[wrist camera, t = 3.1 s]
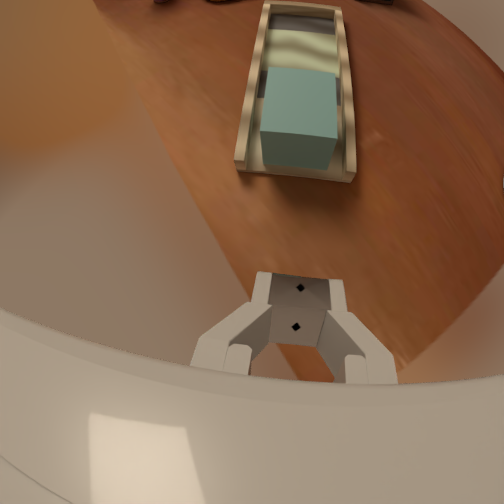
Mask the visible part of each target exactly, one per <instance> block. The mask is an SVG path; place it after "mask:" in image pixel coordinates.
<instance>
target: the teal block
mask: <svg viewBox="0 0 504 504" xmlns="http://www.w3.org/2000/svg"><path fill="white" fill-rule="evenodd" d="M260 139H261V149H262V160H263V164H270V165H282V166H292V167H302V168H311V169H320V170H327V169H328V166H329V163H330V160H331V157H332V154H333V151H334V148H335V145H336V142H337V139H338V136H337V100H336V80H335V73H330V72H322V71H314V70H305V69H294V68H281V67H269V68H268V75H267V82H266V89H265V96H264V103H263V111H262V118H261V125H260Z"/></svg>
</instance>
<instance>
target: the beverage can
mask: <svg viewBox="0 0 504 504" xmlns="http://www.w3.org/2000/svg"><path fill="white" fill-rule="evenodd" d="M154 1H155V2H157V3H163V2H166V1H169V0H154Z"/></svg>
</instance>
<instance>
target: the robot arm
mask: <svg viewBox="0 0 504 504" xmlns="http://www.w3.org/2000/svg"><path fill="white" fill-rule="evenodd" d="M503 186H504V181H503ZM268 342H272V343H284V344H296V345H304V346H313V347H316V348H317V350H318V352H319V353H320V355H321V356H322V358H323V360H324V361H325V363H326V364H327V366H328V367H329V369H330V371H331V372H332V374H333V375H334V377H335V380H334V382H333V383H326V382H310V381H297V380H286V379H275V378H267V377H258V376H251V375H250V374H251V362H252V360H253V359H254V358H255V357H256V356H257V355H258V354H259V353H260V352H261V351H262V350H263V349H264V348H265V346H266V345H267V344H268ZM0 504H504V374H502V375H495V376H489V377H481V378H474V379H464V380H455V381H442V382H428V383H409V384H408V383H405V384H398V380H397V375H396V369H395V364H394V359H393V355H392V354H391V353H390V352H389V351H388V350H387V349H386V348H385V347H384V345H383V344H382V343H381V342H380V341H379V340H378V339H377V338H376V337H375V336H374V335H373V334H372V333H371V332H370V331H369V330H368V329H367V328H366V327H365V326H364V325H363V324H362V323H361V321H360V320H359V319H358V318H357V317H356V316H355V315H354V314H353V313H352V312H348V311H347V304H346V297H345V290H344V284H343V281H342V280H337V279H320V278H309V277H301V276H293V275H285V274H277V273H273V274H272V273H268V272H260V271H258V273H257V276H256V280H255V285H254V290H253V295H252V300H251V302H246V303H245V304H243V305H242V306H241V307H239V308H238V309H237V310H235V311H234V312H233V313H231V314H230V315H229V316H227V317H226V318H225V319H223V320H222V321H221V322H219V323H218V324H217V325H215V326H214V327H213V328H211V329H210V330H208V331H207V332H206V333H204V334H203V335H202V336H200V337H199V340H198V343H197V346H196V349H195V352H194V354H193V358H192V360H191V363H190V366H189V365H184V364H179V363H174V362H170V361H165V360H161V359H156V358H152V357H148V356H144V355H139V354H136V353H131V352H128V351H124V350H120V349H117V348H113V347H110V346H106V345H103V344H99V343H96V342H92V341H89V340H86V339H83V338H80V337H77V336H74V335H70V334H68V333H65V332H62V331H59V330H56V329H53V328H50V327H48V326H45V325H42V324H39V323H37V322H34V321H32V320H29V319H27V318H24V317H22V316H19V315H17V314H15V313H12V312H10V311H8V310H6V309H3V308H1V307H0Z"/></svg>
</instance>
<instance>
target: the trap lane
mask: <svg viewBox="0 0 504 504" xmlns="http://www.w3.org/2000/svg"><path fill="white" fill-rule="evenodd" d="M269 67H281V68H294V69H305V70H314V71H322V72H330V73H335V80H336V100H337V136H338V139H337V142H336V145H335V148H334V151H333V154H332V157H331V160H330V163H329V166H328V169H327V170H320V169H311V168H302V167H292V166H282V165H270V164H263V160H262V149H261V139H260V125H261V118H262V111H263V103H264V96H265V89H266V82H267V75H268V68H269ZM234 163H235V166H236V170H237V172H252V173H265V174H276V175H287V176H297V177H306V178H315V179H323V180H331V181H339V182H347V183H351V181H352V180H353V178H354V176H355V174H356V141H355V122H354V108H353V95H352V84H351V75H350V66H349V58H348V50H347V43H346V36H345V29H344V23H343V17H342V12H341V7H335V6H328V5H320V4H312V3H301V2H288V1H264V5H263V10H262V14H261V19H260V24H259V28H258V33H257V38H256V43H255V48H254V53H253V58H252V63H251V68H250V73H249V78H248V83H247V88H246V94H245V99H244V104H243V110H242V115H241V121H240V127H239V132H238V138H237V144H236V150H235V155H234Z"/></svg>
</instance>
